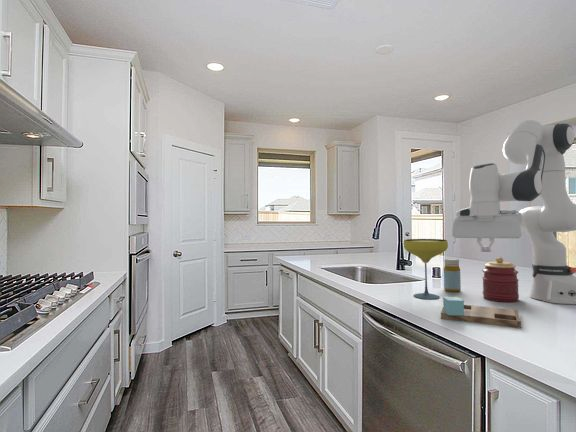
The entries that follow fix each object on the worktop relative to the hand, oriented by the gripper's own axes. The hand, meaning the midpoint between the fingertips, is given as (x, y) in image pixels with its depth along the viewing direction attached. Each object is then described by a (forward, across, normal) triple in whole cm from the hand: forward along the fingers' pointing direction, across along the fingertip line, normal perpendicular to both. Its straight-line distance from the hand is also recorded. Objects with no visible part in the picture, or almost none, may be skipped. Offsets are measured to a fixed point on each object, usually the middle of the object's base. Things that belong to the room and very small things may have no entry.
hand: (485, 251), depth 114 cm
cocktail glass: (+23, +23, -26) cm, 42 cm away
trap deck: (+23, +2, -2) cm, 23 cm away
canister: (+23, -5, -35) cm, 42 cm away
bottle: (+23, +14, -44) cm, 52 cm away
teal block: (+21, +10, +4) cm, 24 cm away
